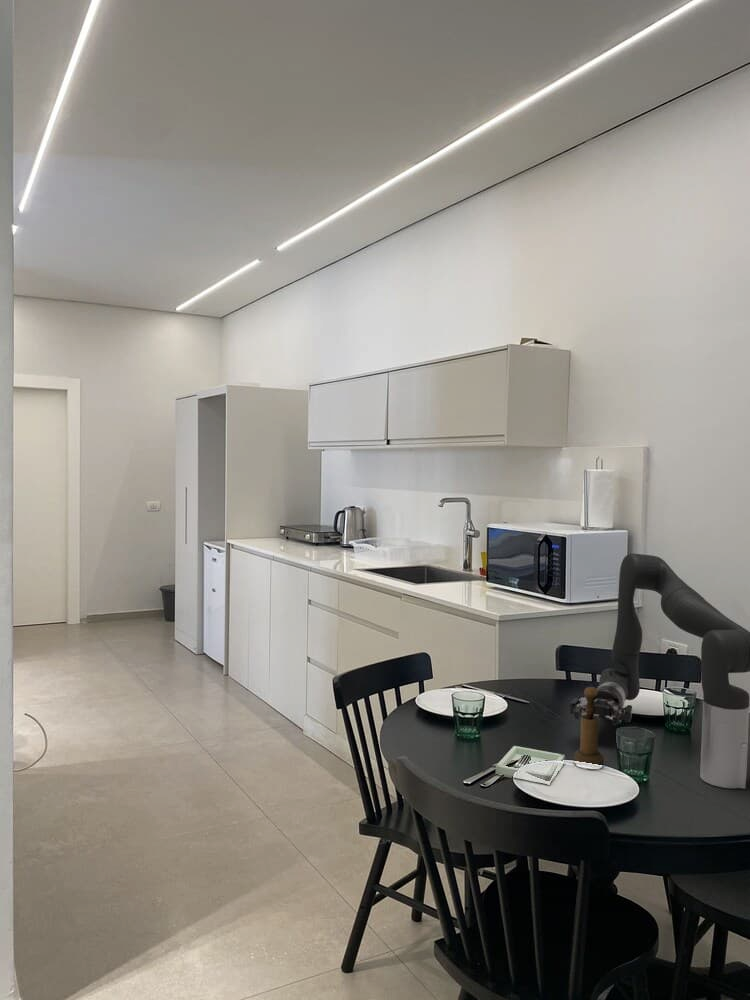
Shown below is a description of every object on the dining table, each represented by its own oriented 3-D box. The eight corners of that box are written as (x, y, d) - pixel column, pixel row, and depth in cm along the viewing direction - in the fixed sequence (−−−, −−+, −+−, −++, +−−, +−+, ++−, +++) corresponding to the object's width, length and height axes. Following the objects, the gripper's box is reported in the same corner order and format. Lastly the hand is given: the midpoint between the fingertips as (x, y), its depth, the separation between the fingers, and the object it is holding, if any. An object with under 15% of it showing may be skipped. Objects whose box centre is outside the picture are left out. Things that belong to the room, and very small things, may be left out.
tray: (564, 763, 185) (564, 754, 185) (549, 785, 173) (549, 776, 173) (513, 754, 191) (514, 745, 191) (495, 774, 178) (495, 765, 178)
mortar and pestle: (568, 764, 185) (570, 687, 184) (582, 757, 190) (584, 681, 189) (595, 772, 180) (597, 693, 179) (608, 764, 185) (611, 687, 184)
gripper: (580, 681, 207) (565, 697, 193) (637, 689, 201) (627, 707, 186) (579, 710, 208) (564, 728, 193) (636, 719, 201) (625, 739, 187)
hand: (595, 718), depth 190 cm, fingers open, 8 cm apart
